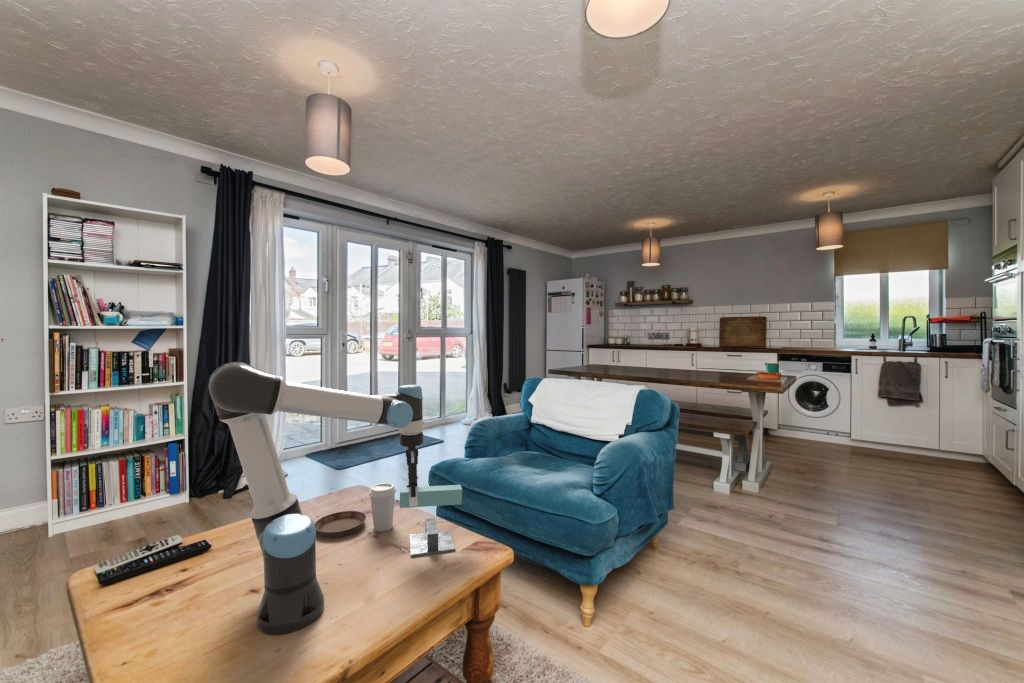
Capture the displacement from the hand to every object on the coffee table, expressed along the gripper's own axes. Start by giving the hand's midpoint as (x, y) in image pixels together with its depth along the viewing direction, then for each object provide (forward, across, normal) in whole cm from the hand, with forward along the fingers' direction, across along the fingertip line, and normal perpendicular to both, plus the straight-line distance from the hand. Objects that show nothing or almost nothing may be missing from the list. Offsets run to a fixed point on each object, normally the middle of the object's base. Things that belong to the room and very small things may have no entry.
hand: (413, 502), depth 143 cm
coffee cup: (+15, +18, +10) cm, 26 cm away
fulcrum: (+15, +1, -6) cm, 16 cm away
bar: (+1, 0, -6) cm, 6 cm away
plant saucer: (+15, +22, +25) cm, 37 cm away
